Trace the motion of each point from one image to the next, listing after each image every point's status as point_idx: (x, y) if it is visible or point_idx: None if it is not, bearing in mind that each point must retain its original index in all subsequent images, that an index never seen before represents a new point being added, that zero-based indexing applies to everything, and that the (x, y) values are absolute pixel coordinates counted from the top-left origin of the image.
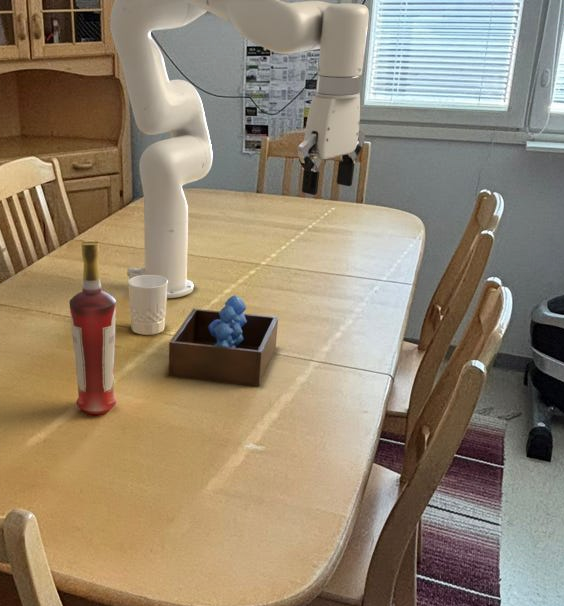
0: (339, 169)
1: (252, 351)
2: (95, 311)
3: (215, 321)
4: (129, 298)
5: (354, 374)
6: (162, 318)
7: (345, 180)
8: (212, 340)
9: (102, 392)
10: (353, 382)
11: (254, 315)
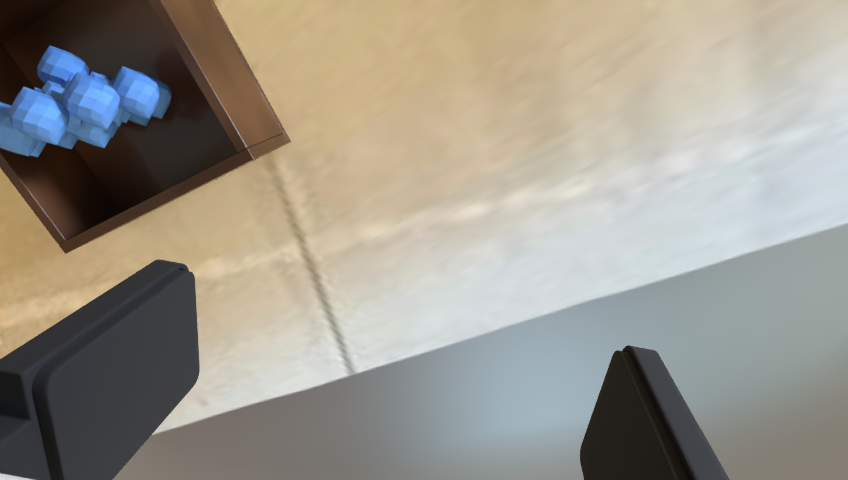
0: (649, 455)
1: (52, 235)
2: None
3: (40, 72)
4: None
5: (309, 333)
6: None
7: (599, 450)
8: None
9: None
10: (278, 346)
11: (209, 98)
